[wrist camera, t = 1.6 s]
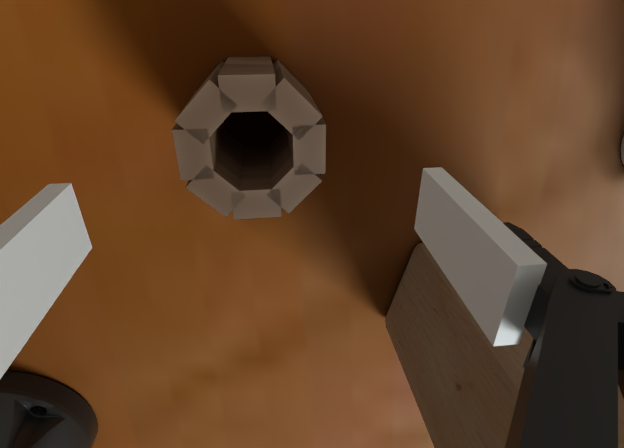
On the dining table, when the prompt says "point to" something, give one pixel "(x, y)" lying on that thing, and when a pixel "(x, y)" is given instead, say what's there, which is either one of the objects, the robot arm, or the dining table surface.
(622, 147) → the mug
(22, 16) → the dining table surface
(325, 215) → the dining table surface
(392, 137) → the dining table surface
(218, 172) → the walnut bead
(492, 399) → the wooden block
